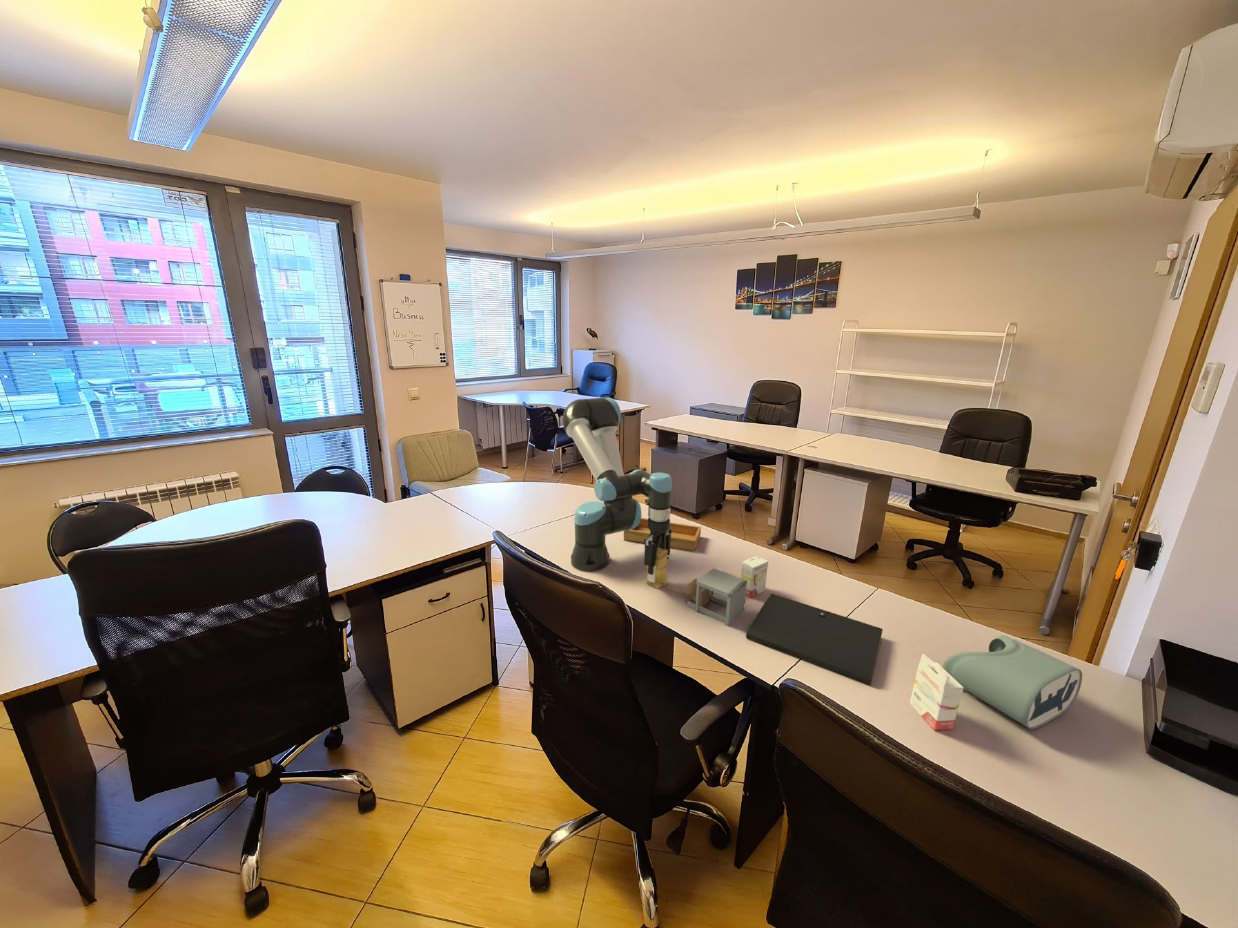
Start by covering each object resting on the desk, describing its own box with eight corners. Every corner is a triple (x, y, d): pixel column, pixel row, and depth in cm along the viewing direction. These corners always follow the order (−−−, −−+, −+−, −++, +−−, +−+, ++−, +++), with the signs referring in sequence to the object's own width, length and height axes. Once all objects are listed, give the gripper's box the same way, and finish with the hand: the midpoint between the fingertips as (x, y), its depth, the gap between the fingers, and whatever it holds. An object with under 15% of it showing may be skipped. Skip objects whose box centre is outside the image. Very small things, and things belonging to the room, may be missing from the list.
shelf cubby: (685, 606, 153) (687, 577, 149) (702, 593, 161) (704, 564, 158) (727, 626, 143) (730, 594, 140) (744, 610, 151) (747, 580, 148)
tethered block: (645, 584, 166) (646, 551, 162) (655, 577, 170) (656, 545, 166) (700, 608, 152) (703, 572, 148) (709, 600, 156) (712, 565, 152)
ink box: (749, 598, 158) (753, 567, 154) (738, 592, 162) (741, 561, 158) (765, 590, 163) (769, 560, 159) (754, 584, 166) (757, 554, 163)
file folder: (883, 627, 138) (872, 676, 119) (880, 639, 139) (869, 689, 120) (771, 591, 155) (746, 629, 136) (770, 602, 157) (745, 641, 138)
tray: (700, 537, 204) (701, 525, 203) (694, 552, 191) (695, 540, 189) (633, 527, 214) (633, 516, 212) (623, 541, 200) (623, 529, 198)
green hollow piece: (1022, 738, 104) (1034, 689, 101) (937, 684, 121) (945, 641, 118) (1075, 708, 113) (1087, 662, 110) (988, 662, 130) (996, 621, 127)
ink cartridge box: (954, 729, 107) (968, 676, 103) (934, 731, 106) (947, 677, 102) (927, 701, 115) (939, 651, 111) (908, 702, 114) (920, 651, 110)
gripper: (652, 529, 150) (649, 592, 157) (682, 513, 163) (679, 572, 170) (634, 522, 155) (632, 584, 161) (665, 507, 168) (662, 565, 175)
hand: (656, 578), depth 166 cm, fingers closed on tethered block, 5 cm apart
